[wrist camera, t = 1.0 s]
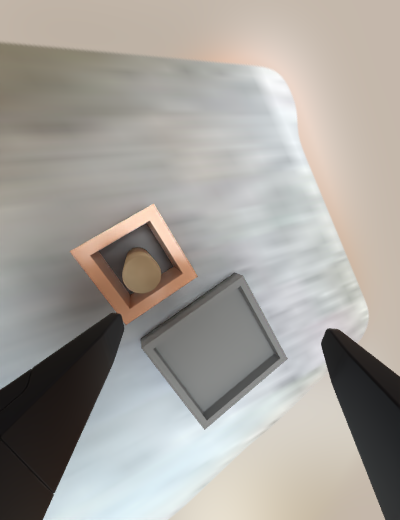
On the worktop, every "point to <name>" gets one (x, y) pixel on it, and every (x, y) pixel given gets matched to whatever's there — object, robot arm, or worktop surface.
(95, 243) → the terracotta square hollow block
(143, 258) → the dowel pin
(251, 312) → the charcoal tray
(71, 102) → the worktop surface
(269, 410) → the worktop surface
